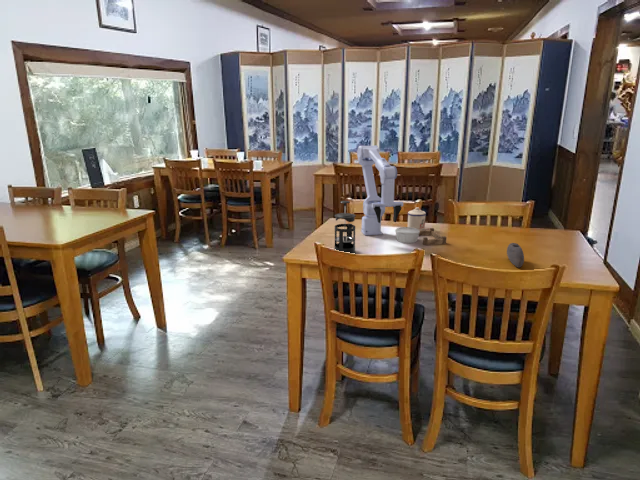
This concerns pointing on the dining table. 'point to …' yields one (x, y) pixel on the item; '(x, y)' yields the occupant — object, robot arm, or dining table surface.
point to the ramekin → (407, 234)
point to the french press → (345, 241)
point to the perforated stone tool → (515, 254)
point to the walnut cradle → (431, 232)
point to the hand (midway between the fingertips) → (386, 222)
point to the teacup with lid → (416, 219)
